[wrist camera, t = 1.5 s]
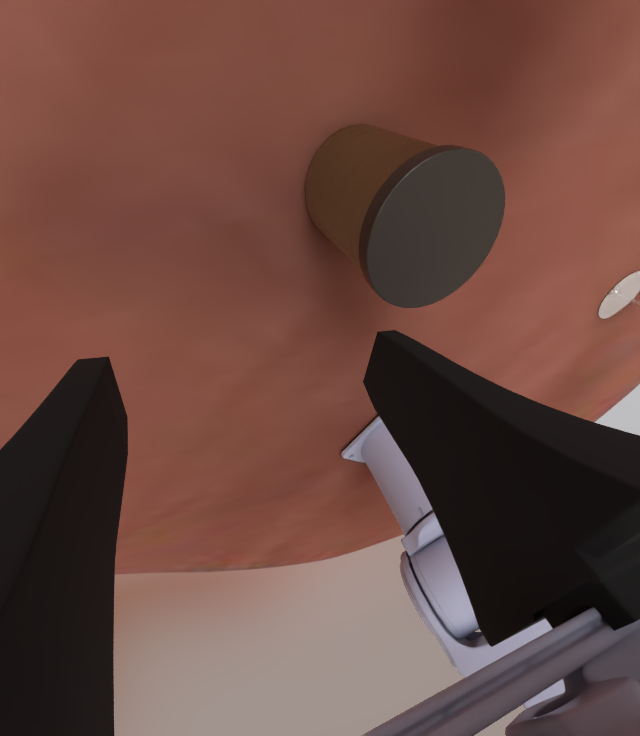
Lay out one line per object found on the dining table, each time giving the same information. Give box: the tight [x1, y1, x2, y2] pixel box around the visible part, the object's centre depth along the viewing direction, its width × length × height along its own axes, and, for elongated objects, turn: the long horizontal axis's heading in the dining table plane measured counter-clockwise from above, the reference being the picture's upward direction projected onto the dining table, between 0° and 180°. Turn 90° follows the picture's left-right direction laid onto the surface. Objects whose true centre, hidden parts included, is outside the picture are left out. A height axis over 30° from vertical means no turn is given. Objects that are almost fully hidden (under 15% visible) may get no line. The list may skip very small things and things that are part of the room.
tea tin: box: [305, 125, 505, 308], centre depth 15 cm, size 6×6×7 cm
